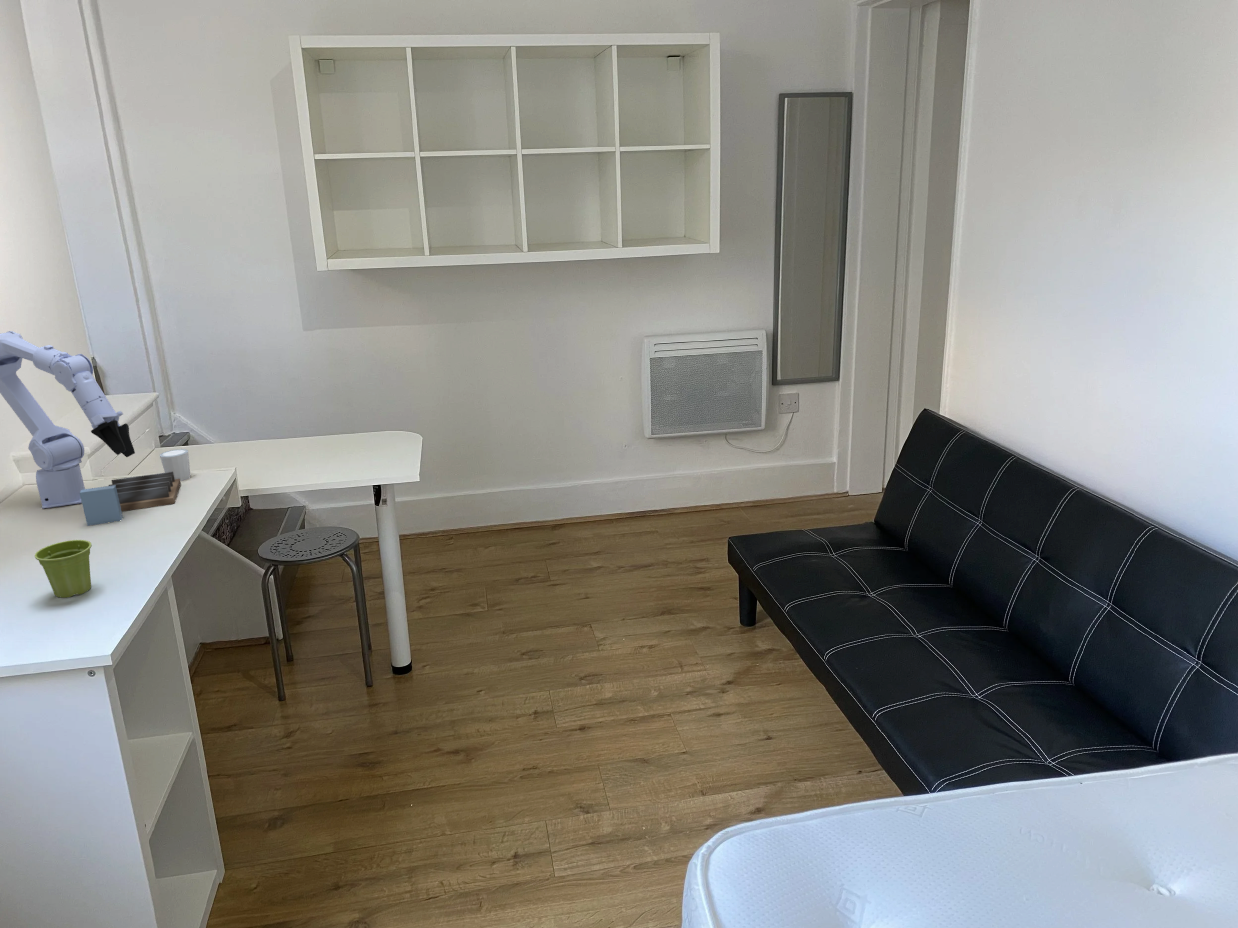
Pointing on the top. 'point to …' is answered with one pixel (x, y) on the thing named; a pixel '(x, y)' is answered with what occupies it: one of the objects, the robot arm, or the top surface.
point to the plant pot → (67, 567)
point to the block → (101, 505)
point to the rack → (147, 490)
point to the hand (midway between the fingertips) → (126, 453)
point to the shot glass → (176, 463)
